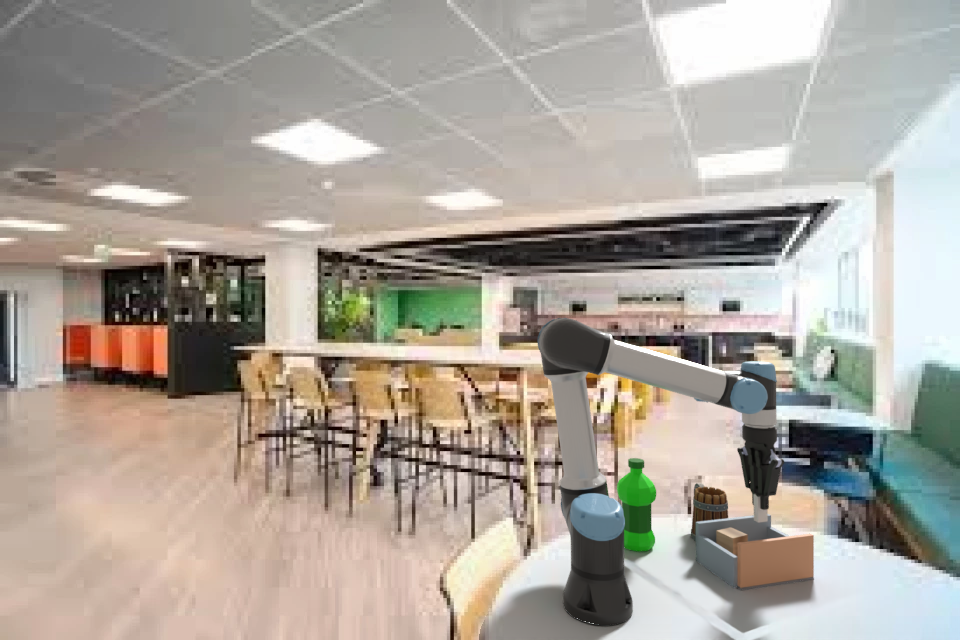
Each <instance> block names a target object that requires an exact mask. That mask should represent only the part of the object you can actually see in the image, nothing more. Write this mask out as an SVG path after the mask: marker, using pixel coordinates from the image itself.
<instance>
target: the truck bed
mask: <svg viewBox="0 0 960 640" xmlns="http://www.w3.org/2000/svg"><path fill="white" fill-rule="evenodd" d="M730 527H731V528H734V529H736V530H738V531H740V532H743V533H745V534H747V535H748V541H756V540H764V539H772V538H779V537H787V536H790V535H788V534H786V533H784V532H783V531H781V530H779V529H777V528H775V527H772V514H769V513H768V521H766V522H759V523H758V522H756V521H754V514H753V515H745V516H735V517H728V518H726V519H717V520H708V521H699V522H696V542H695V561H696V562H697V563H699V564H700V565H701V566H702V567H704V568H705V569H707V570H708V571H709V572H711V573H712V574H714V575H715V576H717V577H718V578H719V579H721V580H722V581H723V582H725V583H727V584H728V585H729V586H730V587H732V588H733V589H735V588H737V587H738V557H737V556H736V555H734V554H732V553H731V552H729V551H728V550H726V549H724V548H723V547H721V546H720V545H718V544H716V531H717V530H721V529H726V528H730Z"/></svg>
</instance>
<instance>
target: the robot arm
mask: <svg viewBox="0 0 960 640" xmlns="http://www.w3.org/2000/svg"><path fill="white" fill-rule="evenodd" d="M537 347H538V350H539V352H540V358H541V364H542V371H543V376H544V377H545V378H547V379H548V380H549V381H550V384H551V391H552V396H553V397H552V398H553V399H552V400H553V405H554V406H553V407H554V412H555V418H556V425H557V434H558V439H559V446H560V454H561V462H562V467H563V468H562V469H563V476H562V477H561V479H560V480H559V489H560V496H561V497H560V498H561V499H560V510H561V514H562V516H563V518H564V520H565V523H566V526H567V529H568V532H569V535H570V571H569V574H568V578H567V580H566V583H565V587H564V589H563V593H562V598H563V599H562V601H563V604H564V605H563V608H564V607H565V608H564V609H566V610H567V611H568V612H569V613H570V614H571V615H572V616H573V617H572V616H571V615H570V614H569V613H568V612H567V611H566V610H565V611H566V612H567V613H568V614H569V615H570V616H571V617H572V618H574V617H575V618H574V619H576V618H578V619H580V620H582V621H586V622H590V623H594V624H599V625H598V626H601V625H609V626H616V625H620V624H622V623H625V622H627V621H628V620H629V619H630V618H631V617H632V615H633V613H634V612H633V611H634V610H633V609H634V608H633V607H634V606H633V604H634V603H633V602H634V601H633V597H632V595H631V592H630V589H629V588H630V587H629V584H628V583H627V578H626V576H625V548H624V526H625V518H624V513H623V508H622V504H621V503H620V501H618V500H616V499H615V498H614V497H610V495H609V494H610V493H609V487H608V481H607V477H606V476H605V475H604V474H603V473H601V472H600V470H599V462H598V457H597V448H596V442H595V435H594V426H593V421H592V420H593V419H592V414H591V408H590V400H589V392H588V387H587V386H588V385H587V384H588V383H587V375H588V374H593V375H596V376H600V375H602V374H604V373H607V374H610V375H612V376H617V377H620V378H624V379H627V380H631V381H634V382H639V383H642V384H644V385H648V386H651V387H654V388H658V389H662V390H665V391H669V392H673V393H676V394H680V395H683V396H687V397H690V398H693V399H694V400H695V401H696V402H701V403H712V404H715V405H717V406H719V407H720V406H721V407H723V408H724V407H725V408H728V409H730V410H734V411H736V412H738V413H740V414H741V422H742V423H743V425H742V427H741V429H742V430H741V431H742V435H741V437H742V440H743V441H745V442H744V446H742V447H738V448H737V449H736V450H737V453H738V455H739V458H740V463H741V469H742V475H743V479H744V480H743V481H744V486H745V488H746V489H749V491H750V493H751V497H752V500H751V502H752V503H751V504H752V506H753V515H754V521H756V522H758V523H759V522H766V521H768V514H769V512H768V510H769V508H770V497H772V496H776V495H777V491H778V485H779V480H780V476H781V470H782V467H783V465H784V464H785V459H784V458H779V457H778V456H777V455H776V453H777V452H776V449H775V444H776V443H777V441H778V434H777V433H778V428H777V427H776V425H778V423H777V419H778V418H777V382H778V380H777V373H776V371H777V370H776V366H775V365H774V363H772V362H770V361H758V360H757V361H756V360H755V361H753V360H751V361H744V362H742V363H741V364H740V369H738V370H721V369H717V368H712V367H709V366H706V365H704V364H703V365H702V364H699V363H696V362H692V361H689V360H686V359H682V358H679V357H675V356H671V355H668V354H665V353H662V352H657V351H654V350H652V349H651V350H650V349H648V348H644V347H640V346H638V345H634V344H630V343H626V342H623V341H621V340H616V339H614V338H613V336H612V334H611V333H608V332H604V331H602V330H598V329H596V328H594V327H591V326H589V325H587V324H584V323H583V322H581V321H579V320H577V319H573V318H568V317H557V318H553V319H551V320H549V321H547V322H546V323H545V324H544V325H543V326H542V327H541V329H540V331H539V333H538V336H537ZM578 619H577V620H578ZM580 620H579V621H580ZM582 621H581V622H582ZM615 624H616V625H615Z"/></svg>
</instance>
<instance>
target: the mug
mask: <svg viewBox="0 0 960 640" xmlns="http://www.w3.org/2000/svg"><path fill="white" fill-rule="evenodd" d="M727 497H728V496H727V493H726V491H725V490H722V489H720V488H715V487H712V486H705V485H704V483H702V482H698V483H697V482H696V483H695V484H694V487H693V499H692V505H693V507H692V517H691V518H692V520H691V521H692V522H691V529H690V539H691V540H693V542H695V543H696V522H699V521H708V520H717V519H726V518H729V511H728V510H729V502H728V498H727Z"/></svg>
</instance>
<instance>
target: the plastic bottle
mask: <svg viewBox="0 0 960 640" xmlns="http://www.w3.org/2000/svg"><path fill="white" fill-rule="evenodd" d="M627 465H628V468H629V472H628V473H627V474H625V475H624V476H623V477H621V478H620V479H619V480H617V481H618V482H617V484H616V493H617V495H618V499H619V500H620V501H621V506H622V508H623V513H624V518H625V526H624V550H625V549H626V550H629V551H633V552H638V553H640V552H642V553H643V552H648V551H649V550H652V549H653V548H654V547H655V544H656V537H655V533H654V532H653V529H652V504H653V503H654V502H655V501H656V498H657V488H656V486H655V483H654V482H653V481H652V479H650V478H649V477H648V476H647V475H645V474H644V473H643V469H644V468H645V460H644V459H642V458H637V457H634V458H633V457H631V458H628V459H627Z"/></svg>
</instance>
